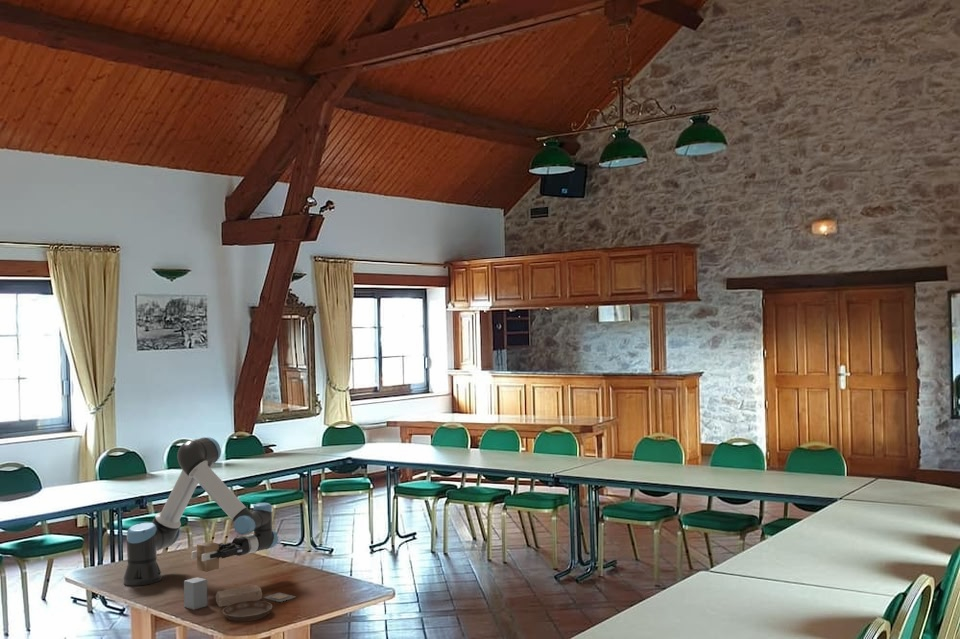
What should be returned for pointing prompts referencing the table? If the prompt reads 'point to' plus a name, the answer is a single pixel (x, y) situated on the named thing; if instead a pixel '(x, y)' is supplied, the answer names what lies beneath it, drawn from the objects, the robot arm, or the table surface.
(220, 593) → the brick
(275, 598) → the card
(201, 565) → the walnut block
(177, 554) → the table surface
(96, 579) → the table surface
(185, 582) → the slate block
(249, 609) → the plant saucer
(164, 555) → the table surface
